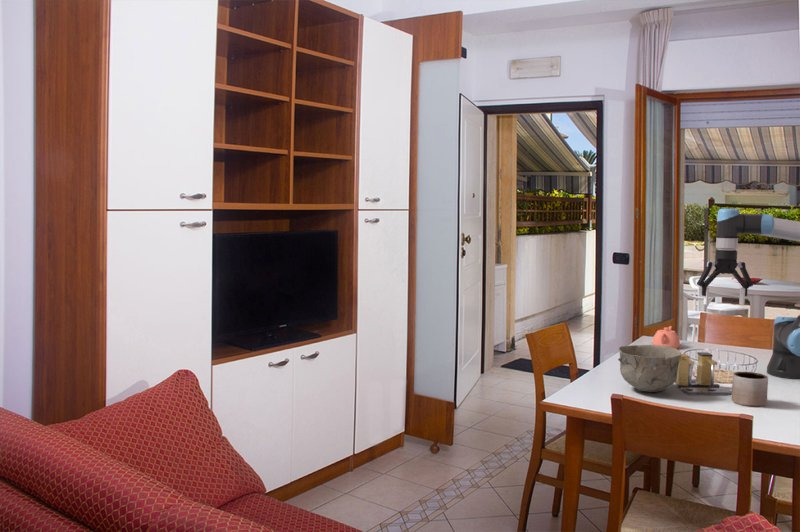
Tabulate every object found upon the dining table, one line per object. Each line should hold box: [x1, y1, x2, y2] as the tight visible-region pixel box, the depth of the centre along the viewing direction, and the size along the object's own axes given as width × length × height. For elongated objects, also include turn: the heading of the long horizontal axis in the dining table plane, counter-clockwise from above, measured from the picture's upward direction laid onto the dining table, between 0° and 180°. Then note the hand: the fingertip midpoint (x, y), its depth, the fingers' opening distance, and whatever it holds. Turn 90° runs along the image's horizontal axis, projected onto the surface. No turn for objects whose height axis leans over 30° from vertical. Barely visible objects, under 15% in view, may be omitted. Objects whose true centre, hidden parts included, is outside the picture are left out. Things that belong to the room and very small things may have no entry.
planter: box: [730, 371, 769, 408], centre depth 243 cm, size 11×11×10 cm
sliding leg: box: [695, 351, 718, 387], centre depth 259 cm, size 4×12×11 cm, turn 179°
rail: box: [675, 382, 721, 389], centre depth 263 cm, size 15×2×1 cm, turn 89°
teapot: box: [651, 325, 681, 350], centre depth 336 cm, size 12×18×10 cm
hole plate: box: [681, 387, 732, 396], centre depth 255 cm, size 16×6×1 cm, turn 89°
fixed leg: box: [674, 353, 695, 387], centre depth 259 cm, size 4×12×11 cm, turn 179°
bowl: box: [617, 344, 683, 393], centre depth 257 cm, size 22×22×15 cm
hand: (723, 304), depth 274 cm, fingers open, 13 cm apart
